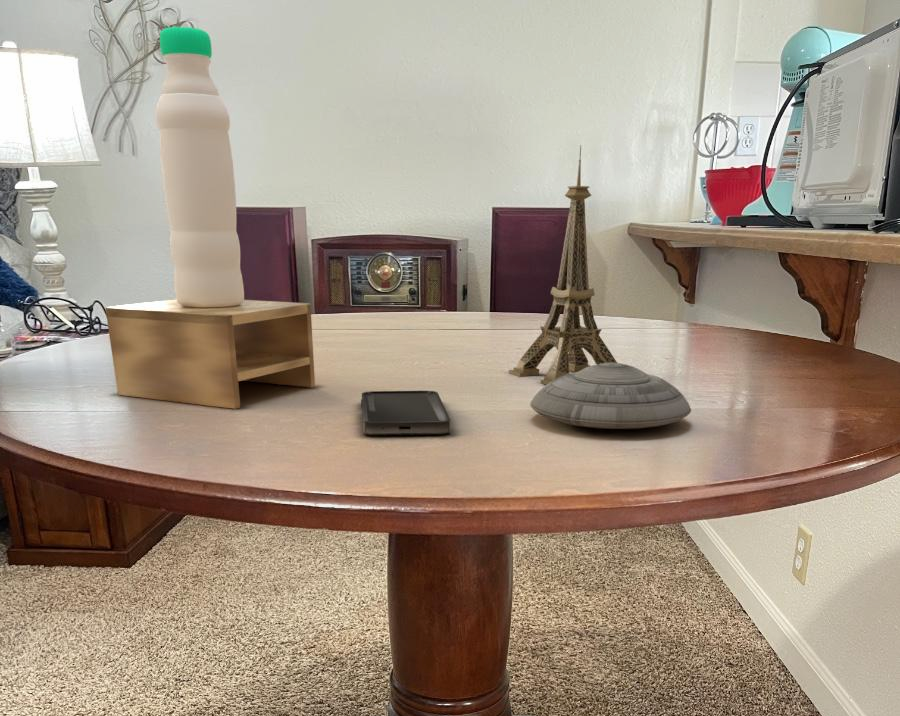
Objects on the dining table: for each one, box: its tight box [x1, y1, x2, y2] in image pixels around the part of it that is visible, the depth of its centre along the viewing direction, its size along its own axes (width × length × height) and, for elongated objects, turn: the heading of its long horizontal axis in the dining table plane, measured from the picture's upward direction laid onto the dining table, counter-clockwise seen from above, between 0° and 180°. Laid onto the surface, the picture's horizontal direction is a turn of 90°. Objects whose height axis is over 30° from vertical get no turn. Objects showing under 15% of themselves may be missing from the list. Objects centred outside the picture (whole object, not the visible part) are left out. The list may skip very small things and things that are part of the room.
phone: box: [360, 390, 451, 436], centre depth 85 cm, size 8×1×15 cm
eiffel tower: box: [508, 144, 618, 385], centre depth 102 cm, size 11×11×25 cm
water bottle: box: [155, 26, 245, 308], centre depth 89 cm, size 7×7×25 cm
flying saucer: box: [529, 362, 692, 430], centre depth 83 cm, size 15×15×6 cm
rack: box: [105, 299, 316, 410], centre depth 96 cm, size 16×14×9 cm
